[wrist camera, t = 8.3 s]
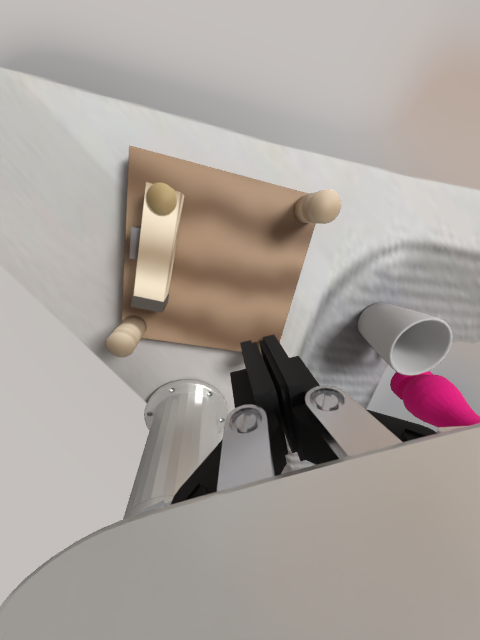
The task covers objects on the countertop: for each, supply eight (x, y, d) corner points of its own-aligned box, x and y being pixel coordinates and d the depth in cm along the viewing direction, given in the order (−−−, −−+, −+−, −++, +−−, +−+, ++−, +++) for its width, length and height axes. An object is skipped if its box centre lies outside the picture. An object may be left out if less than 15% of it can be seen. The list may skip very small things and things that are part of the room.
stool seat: (137, 152, 25) (108, 126, 18) (314, 199, 28) (347, 192, 22) (127, 326, 32) (104, 355, 25) (271, 347, 36) (285, 378, 29)
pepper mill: (417, 398, 42) (573, 533, 24) (380, 395, 41) (514, 535, 23) (435, 362, 40) (626, 484, 21) (397, 359, 39) (563, 484, 20)
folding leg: (153, 182, 24) (144, 177, 21) (186, 192, 24) (182, 188, 21) (139, 297, 28) (130, 306, 25) (167, 303, 29) (162, 313, 26)
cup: (385, 284, 34) (438, 304, 26) (415, 331, 37) (469, 360, 29) (340, 319, 35) (377, 348, 27) (373, 361, 38) (414, 397, 31)
